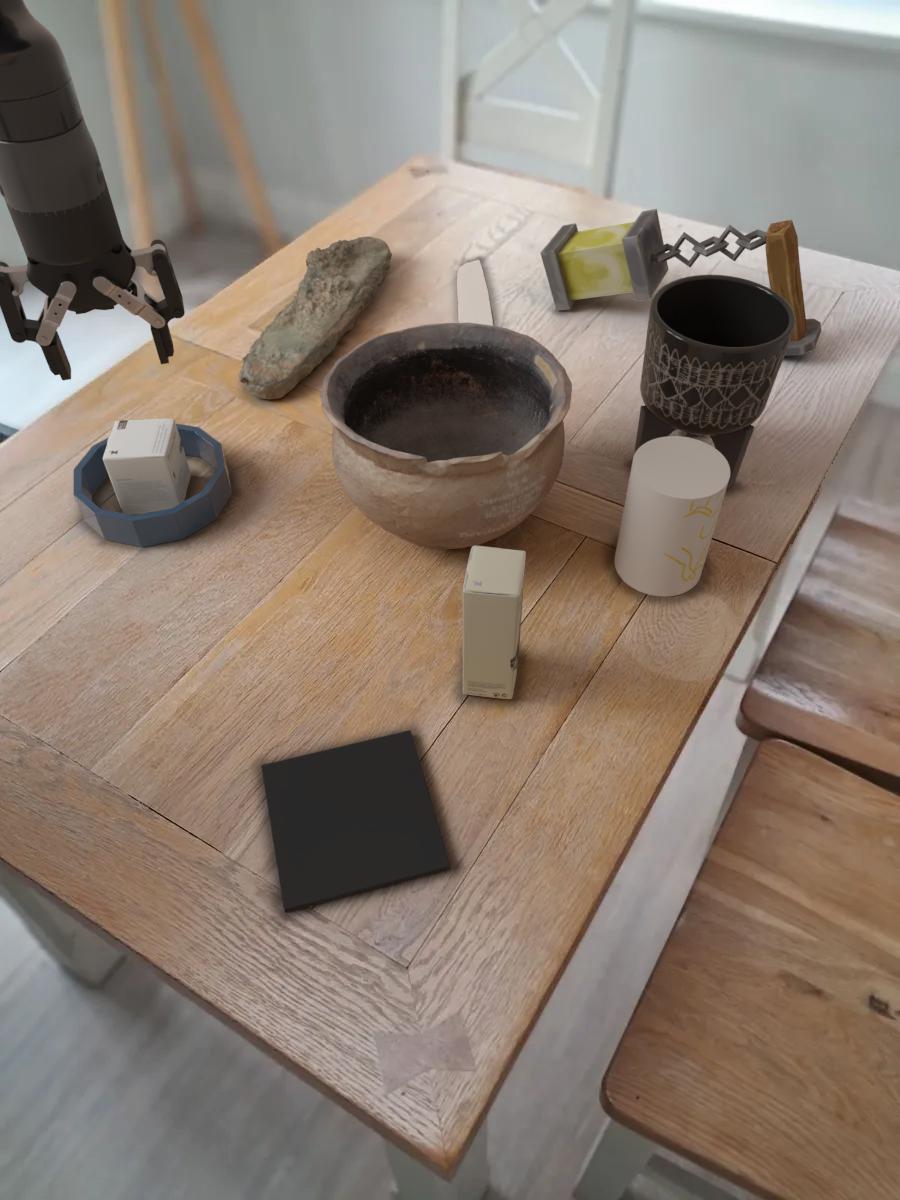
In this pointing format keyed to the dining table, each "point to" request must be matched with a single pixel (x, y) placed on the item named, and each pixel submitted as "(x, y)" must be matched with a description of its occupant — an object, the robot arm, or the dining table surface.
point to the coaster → (351, 820)
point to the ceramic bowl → (447, 430)
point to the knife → (473, 295)
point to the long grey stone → (315, 315)
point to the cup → (670, 514)
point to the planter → (712, 360)
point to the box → (492, 621)
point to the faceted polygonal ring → (162, 522)
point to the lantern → (666, 265)
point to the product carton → (147, 465)
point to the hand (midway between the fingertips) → (116, 367)
